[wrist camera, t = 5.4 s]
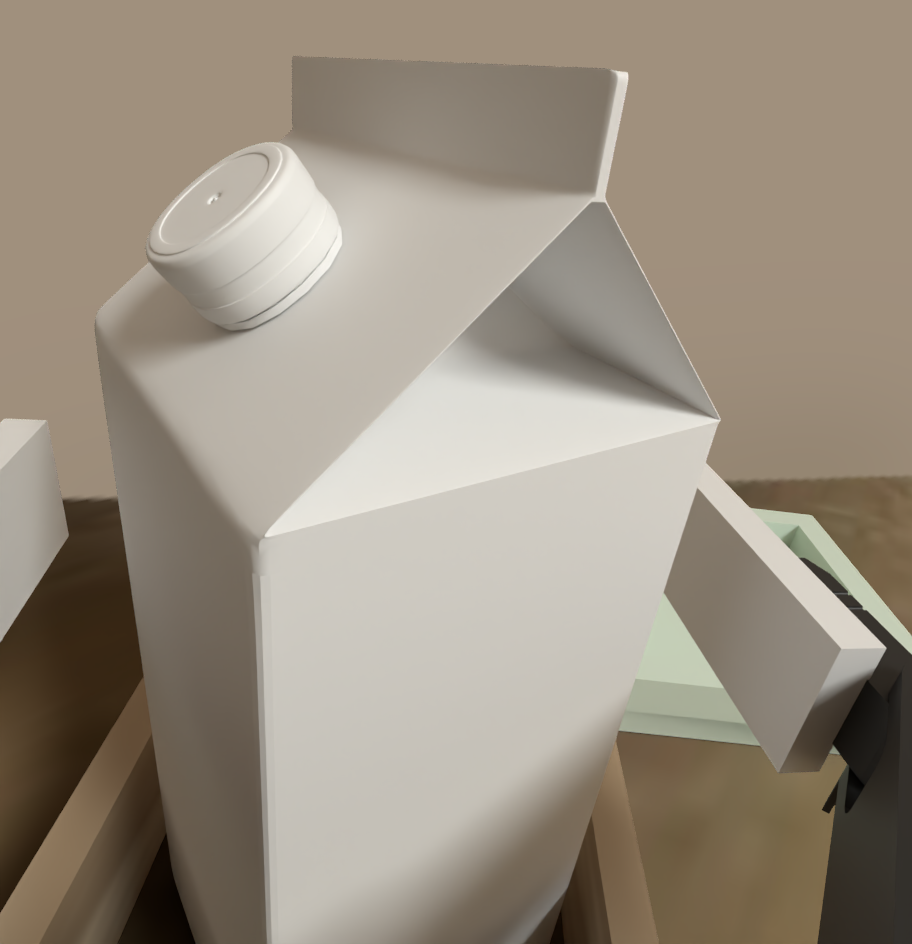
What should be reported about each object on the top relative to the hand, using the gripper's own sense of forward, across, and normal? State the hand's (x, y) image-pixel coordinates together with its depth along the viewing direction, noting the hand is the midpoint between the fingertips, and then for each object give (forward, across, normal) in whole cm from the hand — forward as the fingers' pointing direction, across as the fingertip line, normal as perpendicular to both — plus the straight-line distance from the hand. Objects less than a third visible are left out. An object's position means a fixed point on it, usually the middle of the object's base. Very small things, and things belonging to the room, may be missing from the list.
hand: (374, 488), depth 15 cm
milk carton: (-3, 0, -11) cm, 12 cm away
